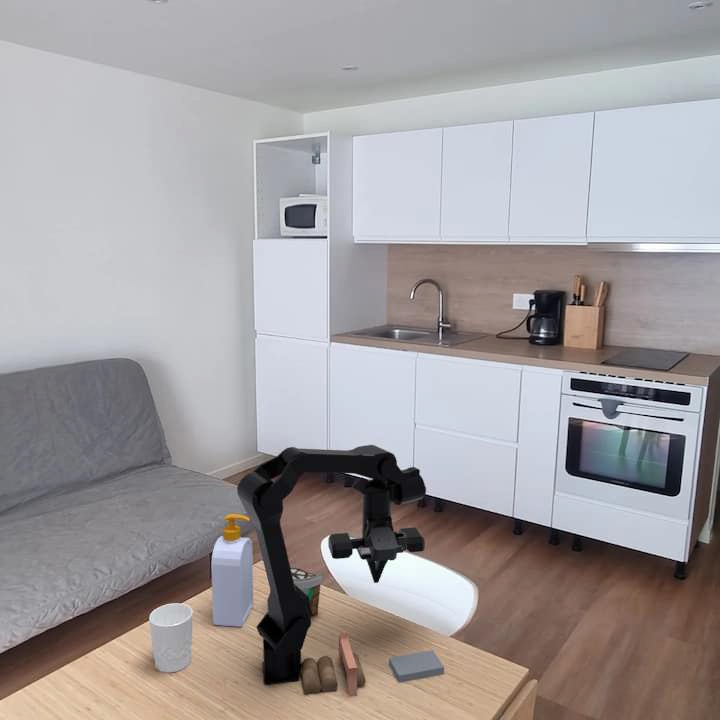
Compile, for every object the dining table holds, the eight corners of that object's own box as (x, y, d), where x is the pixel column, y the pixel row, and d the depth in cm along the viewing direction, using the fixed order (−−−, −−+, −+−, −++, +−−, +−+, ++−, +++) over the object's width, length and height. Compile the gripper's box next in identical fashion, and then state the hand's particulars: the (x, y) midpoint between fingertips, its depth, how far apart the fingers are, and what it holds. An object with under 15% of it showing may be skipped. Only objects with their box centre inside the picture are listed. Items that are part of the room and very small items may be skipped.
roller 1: (302, 694, 116) (306, 679, 116) (299, 671, 122) (302, 656, 122) (318, 695, 117) (322, 680, 116) (314, 672, 123) (318, 658, 122)
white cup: (143, 662, 125) (141, 614, 123) (180, 644, 130) (178, 598, 129) (165, 681, 119) (163, 631, 118) (202, 661, 125) (200, 613, 123)
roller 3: (366, 673, 118) (364, 688, 118) (359, 652, 124) (357, 666, 125) (350, 674, 117) (348, 689, 118) (344, 652, 124) (342, 666, 124)
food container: (260, 614, 141) (259, 571, 140) (276, 601, 147) (276, 559, 145) (308, 630, 136) (308, 585, 134) (323, 615, 141) (323, 572, 140)
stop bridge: (348, 696, 116) (348, 668, 115) (338, 660, 126) (338, 634, 125) (356, 695, 116) (357, 667, 115) (346, 659, 126) (346, 633, 125)
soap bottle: (244, 628, 136) (242, 525, 132) (212, 626, 137) (209, 523, 133) (256, 605, 145) (255, 508, 141) (226, 603, 146) (224, 506, 142)
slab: (398, 685, 120) (399, 675, 119) (388, 667, 125) (389, 657, 124) (443, 676, 122) (444, 667, 122) (432, 659, 127) (432, 649, 127)
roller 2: (326, 675, 116) (340, 681, 117) (321, 653, 122) (335, 659, 123) (318, 689, 116) (332, 695, 117) (313, 667, 123) (327, 672, 123)
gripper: (337, 529, 120) (337, 608, 122) (434, 522, 123) (432, 598, 126) (328, 506, 130) (327, 578, 133) (417, 500, 134) (415, 570, 137)
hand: (375, 581), depth 132 cm, fingers closed
